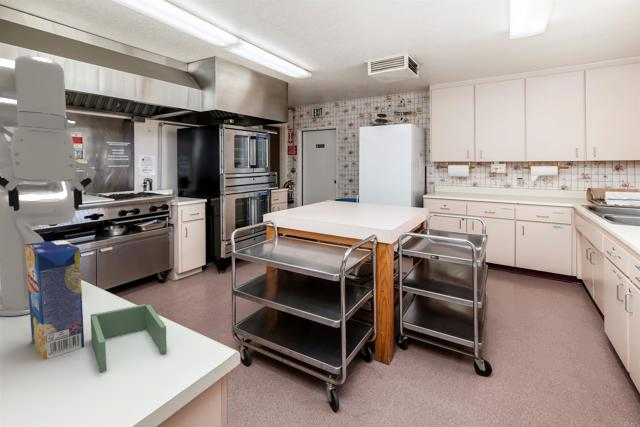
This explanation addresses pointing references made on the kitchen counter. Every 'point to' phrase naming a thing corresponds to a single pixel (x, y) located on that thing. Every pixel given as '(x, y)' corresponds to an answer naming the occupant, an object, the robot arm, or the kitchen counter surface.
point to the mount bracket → (126, 328)
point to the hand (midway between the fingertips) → (47, 209)
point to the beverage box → (55, 297)
